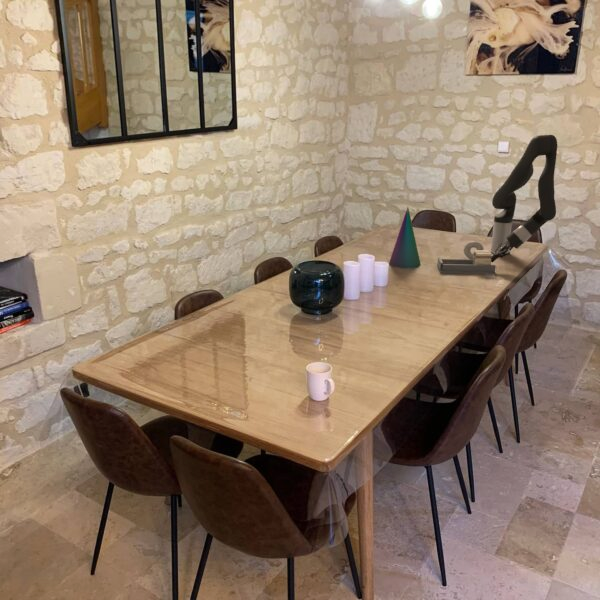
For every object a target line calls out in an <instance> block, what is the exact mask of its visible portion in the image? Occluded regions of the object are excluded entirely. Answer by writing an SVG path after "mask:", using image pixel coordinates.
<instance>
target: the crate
mask: <svg viewBox="0 0 600 600" xmlns="http://www.w3.org/2000/svg"><path fill="white" fill-rule="evenodd" d="M473 253H474V256H473V265H492V262H491V258H492V256H493V253H491V251H490V250H488V249H487V250H486V249H484V250H477V249H474V250H473Z"/></svg>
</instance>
